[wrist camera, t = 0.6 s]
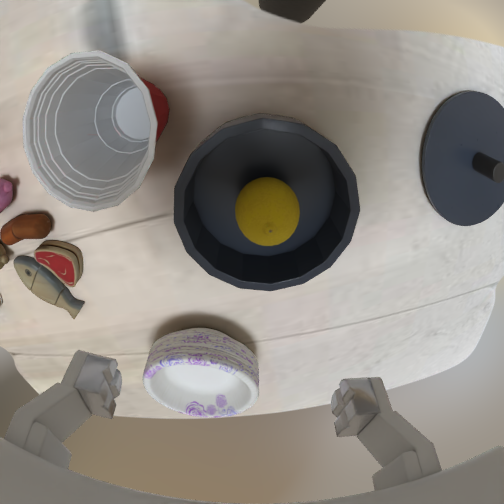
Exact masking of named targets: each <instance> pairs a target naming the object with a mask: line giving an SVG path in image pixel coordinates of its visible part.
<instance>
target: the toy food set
mask: <svg viewBox="0 0 504 504" xmlns="http://www.w3.org/2000/svg"><path fill="white" fill-rule="evenodd" d="M12 187H13V186H12V183H11V182H9V181H7V180H5V179H2V178H0V213H1V212H2V211H3V210H4V209H5V208H6V207H7V206H8V205H9V204H10V203H11V201H12V196H13V191H12ZM50 230H51V222H50V220H49V218H48V217H47V216H46V215H44V214H30V215H26V214H22V215H19V216H18V217H16V218H14V219H12V220H11V221H9V222H8V223H6V224H5V225H3V227H2V229H1V232H0V236H1V240H2V241H3V243H5V244H6V245H13V244H15V243H17V242H19V241H21V240H23V239H42V238H45V237H46V236H47V235H48V234H49V232H50ZM34 257H35V259H33V258H31V257H27V256H18V257H17V258H16V259H15V260H14V267H15V269H16V271H17V273H18V275H19V277H20V279H21V280H22V282H23V283H24V284H25V286H26V287H27V288H28V289H29V290H31V292H32V293H33V294H35V295H36V296H37V297H39V298H40V299H42V300H44V301H46V302H48V303H50V304H52V305H56V306H57V307H61V308H64V309H65V310H67V311H68V312H69V313H70V315H71V316H72V318H73V319H75V317H76V316H77V314H78V312H79V311H80V309H81V308H82V306H83V304H84V302H83V301H80V300H77V299H75V298H74V297H73V296H72V295H71V293H70V292H69V290H68V289H67V288H66V287H64V285H63V283H64V284H65V285H67V286H69V287H74V286H75V285H76V283H77V282H78V280H79V279H80V278H81V276H82V271H83V259H82V254H81V252H80V250H79V249H78V248H77V247H75V246H73V245H71V244H68V243H65V242H61V241H55V240H48V241H44V242H43V243H42V244H41V245H40V246H39V247H38V248H37V249H36V250H35V251H34ZM8 261H9V258H8V256H7V255H6V251H5V248H4V247H3V246H2V245H1V244H0V269H1V268H2V267H3V266H4V265H5V264H7V263H8ZM61 281H62V282H63V283H62V282H61Z"/></svg>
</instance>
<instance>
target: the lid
mask: <svg viewBox="0 0 504 504" xmlns="http://www.w3.org/2000/svg"><path fill="white" fill-rule="evenodd" d="M422 172H423V180H424V185H425V189H426V192H427V195H428V197H429V200H430V202H431V204H432V205H433V207H434V208H435V210H436V211H437V212H438V213H439V214H440V215H441V216H442V217H443V218H445V219H446V220H447V221H449V222H451V223H453V224H456V225H461V226H471V225H475V224H478V223H481V222H483V221H485V220H486V219H488V218H489V217H491V216H492V215H493V214H494V213H495V212H496V211H497V210H498V209H499V208H500V207H501V205H502V204H503V203H504V108H503V107H502V106H501V105H500V103H499V102H498V101H496V100H495V99H494V98H492V97H491V96H489V95H487V94H484V93H481V92H475V91H466V92H462V93H458V94H456V95H454V96H453V97H451V98H450V99H448V100H447V101H446V102H445V103H444V104H443V105H442V106H441V107H440V108H439V110H438V111H437V113H436V114H435V116H434V118H433V119H432V121H431V124H430V126H429V128H428V131H427V134H426V138H425V142H424V147H423V156H422Z"/></svg>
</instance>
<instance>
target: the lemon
mask: <svg viewBox="0 0 504 504" xmlns="http://www.w3.org/2000/svg"><path fill="white" fill-rule="evenodd" d="M235 216H236V220H237V223H238V226H239V228H240V230H241V231H242V233H243V234H244V235H245V236H246V237H247V238H248V239H249V240H250V241H252V242H254V243H256V244H258V245H262V246H273V245H278V244H280V243H282V242H284V241H286V240H287V239H288V238H290V236H291V235H292V234H293V233H294V231H295V229H296V227H297V225H298V222H299V216H300V209H299V202H298V200H297V197H296V195H295V193H294V192H293V190H292V189H291V188H290V187H289V186H288V185H287V184H286V183H284V182H283V181H281V180H279V179H276V178H271V177H262V178H258V179H255V180H252V181H251V182H249V183H248V184H246V186H245V187H244V188H243V189H242V190H241V191H240V193H239V195H238V197H237V200H236V205H235Z"/></svg>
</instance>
